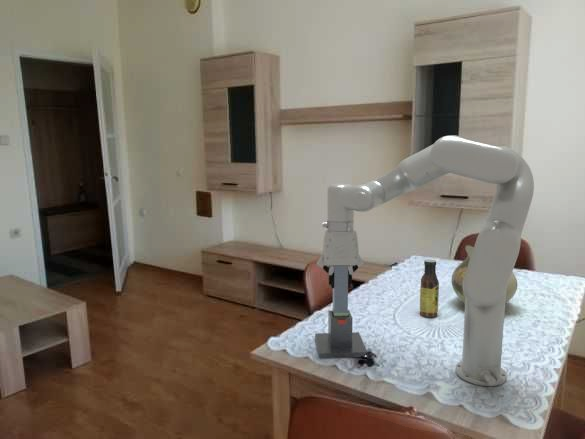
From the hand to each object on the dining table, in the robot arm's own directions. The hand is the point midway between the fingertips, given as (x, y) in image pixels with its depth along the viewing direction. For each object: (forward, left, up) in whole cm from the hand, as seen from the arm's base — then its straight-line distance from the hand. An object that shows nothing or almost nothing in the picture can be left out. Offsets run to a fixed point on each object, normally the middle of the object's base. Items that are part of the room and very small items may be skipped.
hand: (340, 286), depth 139 cm
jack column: (0, 0, -12) cm, 12 cm away
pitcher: (+31, -57, -19) cm, 68 cm away
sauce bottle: (+24, -35, -19) cm, 47 cm away
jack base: (0, 0, -19) cm, 19 cm away
